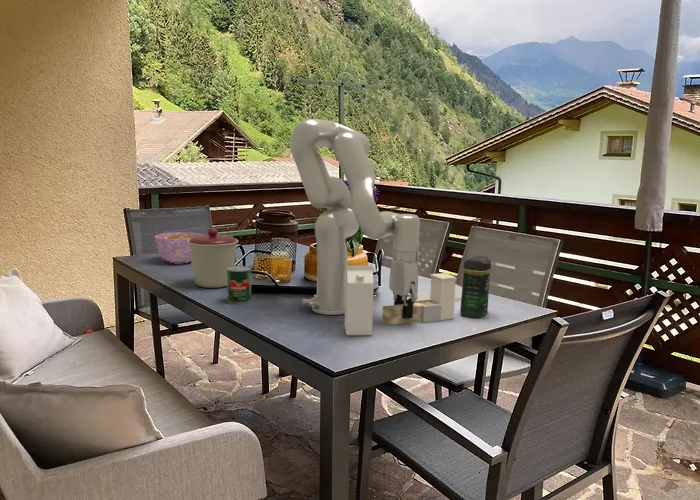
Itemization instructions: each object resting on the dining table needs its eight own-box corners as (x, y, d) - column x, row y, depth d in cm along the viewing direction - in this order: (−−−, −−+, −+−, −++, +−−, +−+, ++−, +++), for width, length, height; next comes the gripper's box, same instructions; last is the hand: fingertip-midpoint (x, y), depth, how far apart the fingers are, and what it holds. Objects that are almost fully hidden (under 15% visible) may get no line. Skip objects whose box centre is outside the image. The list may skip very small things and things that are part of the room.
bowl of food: (160, 257, 264) (159, 232, 262) (206, 257, 266) (206, 232, 264) (150, 267, 245) (149, 239, 243) (200, 267, 247) (199, 239, 245)
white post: (423, 322, 178) (425, 280, 175) (411, 316, 184) (413, 275, 182) (455, 319, 182) (457, 277, 180) (442, 312, 189) (444, 272, 186)
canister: (180, 283, 219) (178, 226, 215) (224, 277, 230) (224, 223, 226) (201, 293, 205) (199, 233, 201) (247, 286, 216) (247, 229, 212)
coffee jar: (482, 320, 182) (486, 260, 178) (457, 316, 185) (460, 257, 182) (490, 312, 190) (494, 255, 187) (466, 308, 194) (470, 252, 191)
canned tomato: (245, 296, 203) (244, 264, 201) (255, 301, 196) (255, 269, 194) (223, 299, 198) (222, 267, 196) (233, 305, 192) (232, 271, 190)
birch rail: (387, 325, 175) (388, 309, 174) (382, 322, 178) (382, 306, 177) (433, 320, 182) (434, 304, 181) (427, 317, 185) (428, 301, 184)
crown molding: (421, 312, 190) (422, 301, 189) (393, 304, 198) (393, 294, 198) (474, 298, 210) (474, 288, 209) (446, 291, 218) (446, 282, 218)
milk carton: (344, 327, 171) (346, 263, 168) (369, 327, 172) (371, 263, 168) (346, 335, 164) (348, 268, 161) (372, 335, 165) (374, 268, 161)
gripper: (381, 251, 182) (379, 309, 185) (408, 262, 166) (405, 324, 170) (403, 250, 184) (400, 307, 188) (431, 260, 169) (428, 322, 172)
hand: (402, 314), depth 179 cm, fingers open, 4 cm apart
